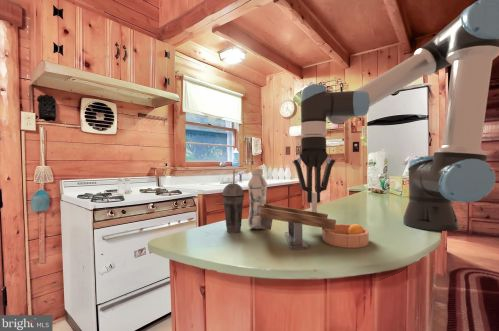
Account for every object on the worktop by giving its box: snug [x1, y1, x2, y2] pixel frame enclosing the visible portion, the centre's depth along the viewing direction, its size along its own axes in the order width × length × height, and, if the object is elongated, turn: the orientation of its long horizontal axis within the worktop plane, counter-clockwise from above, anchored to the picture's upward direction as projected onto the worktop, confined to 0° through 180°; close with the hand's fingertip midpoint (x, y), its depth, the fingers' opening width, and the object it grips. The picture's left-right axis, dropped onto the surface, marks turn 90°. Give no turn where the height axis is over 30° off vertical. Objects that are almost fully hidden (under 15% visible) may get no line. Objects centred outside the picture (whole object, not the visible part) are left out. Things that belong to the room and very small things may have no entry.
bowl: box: [321, 223, 370, 249], centre depth 71 cm, size 12×12×3 cm
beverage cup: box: [221, 169, 245, 233], centre depth 83 cm, size 7×7×20 cm
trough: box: [259, 202, 337, 231], centre depth 74 cm, size 20×15×6 cm
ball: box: [348, 223, 364, 235], centre depth 71 cm, size 4×4×4 cm
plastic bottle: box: [247, 168, 268, 230], centre depth 85 cm, size 6×7×20 cm
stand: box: [284, 222, 308, 250], centre depth 71 cm, size 4×13×6 cm, turn 179°
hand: (313, 213), depth 78 cm, fingers closed
